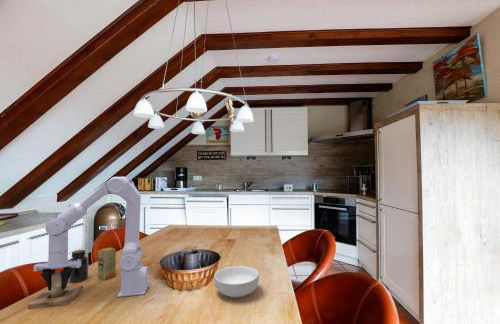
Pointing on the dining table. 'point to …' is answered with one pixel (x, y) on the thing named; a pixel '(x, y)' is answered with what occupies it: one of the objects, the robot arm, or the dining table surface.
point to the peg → (56, 285)
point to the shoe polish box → (106, 263)
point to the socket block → (47, 301)
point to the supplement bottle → (82, 271)
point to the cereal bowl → (236, 280)
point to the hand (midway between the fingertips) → (57, 289)
